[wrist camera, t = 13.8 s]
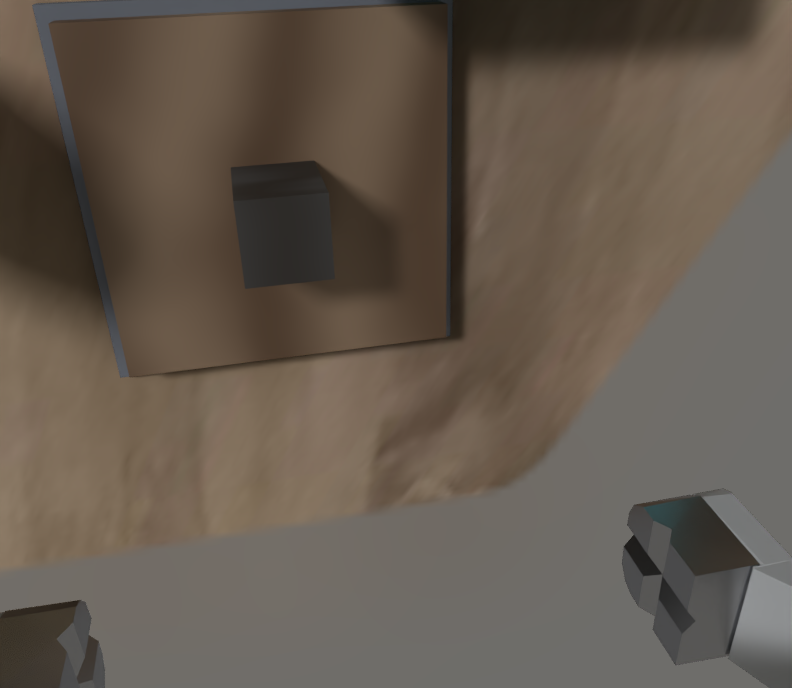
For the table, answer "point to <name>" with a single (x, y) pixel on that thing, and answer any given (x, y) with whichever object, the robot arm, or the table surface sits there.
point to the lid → (264, 177)
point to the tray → (151, 3)
